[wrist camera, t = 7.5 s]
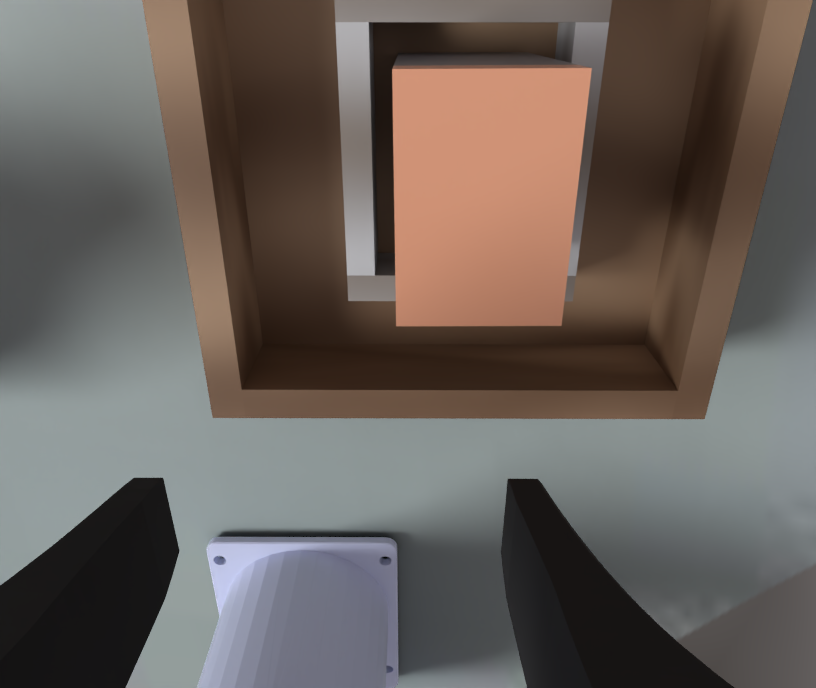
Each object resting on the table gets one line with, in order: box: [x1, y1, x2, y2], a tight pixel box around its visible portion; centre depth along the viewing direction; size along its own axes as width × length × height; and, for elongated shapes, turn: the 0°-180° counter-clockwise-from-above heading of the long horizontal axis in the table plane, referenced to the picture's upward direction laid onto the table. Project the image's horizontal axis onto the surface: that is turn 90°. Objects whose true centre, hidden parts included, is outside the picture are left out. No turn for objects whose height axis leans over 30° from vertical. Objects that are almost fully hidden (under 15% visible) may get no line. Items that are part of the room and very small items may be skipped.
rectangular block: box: [392, 52, 592, 326], centre depth 15 cm, size 5×4×7 cm
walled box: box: [142, 0, 813, 419], centre depth 17 cm, size 15×15×4 cm
